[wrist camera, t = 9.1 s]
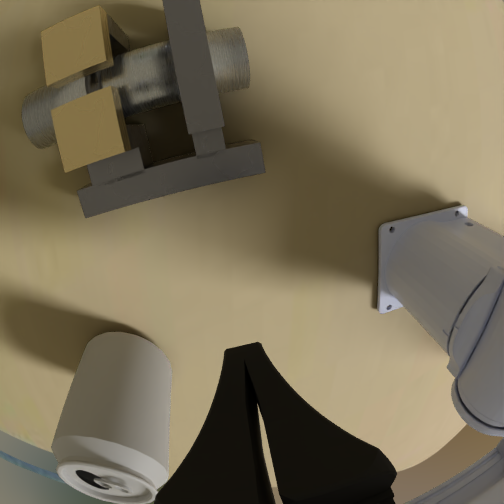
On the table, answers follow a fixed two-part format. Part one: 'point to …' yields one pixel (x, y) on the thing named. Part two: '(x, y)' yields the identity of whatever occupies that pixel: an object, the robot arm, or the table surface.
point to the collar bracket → (134, 136)
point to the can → (117, 421)
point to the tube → (138, 82)
